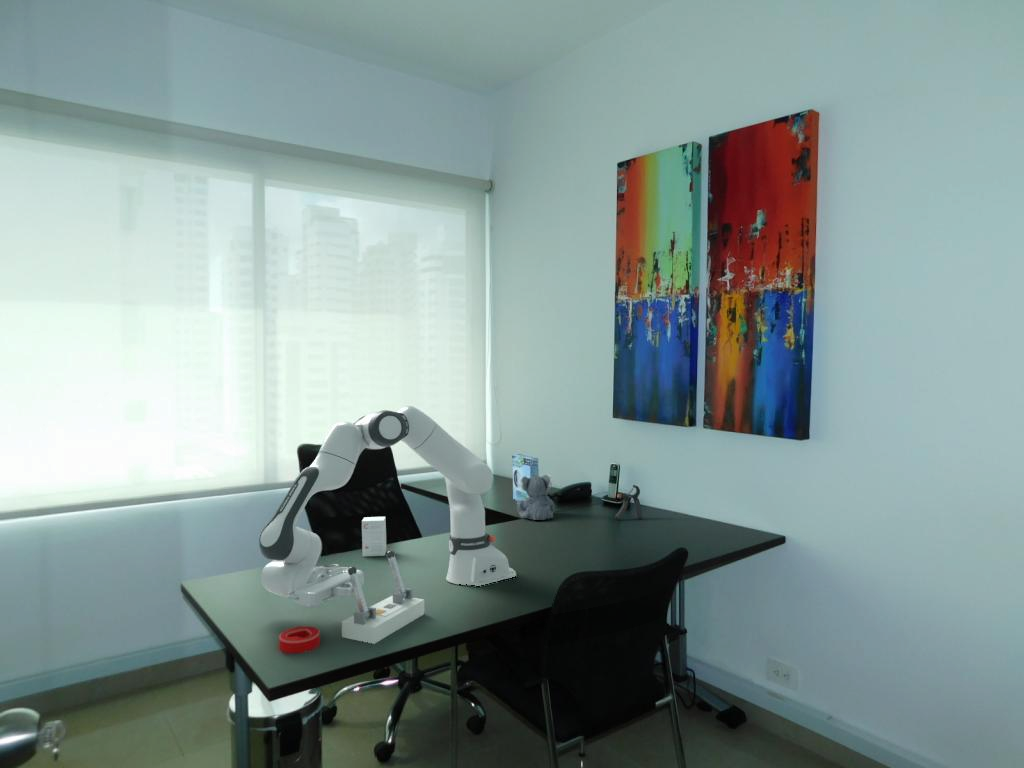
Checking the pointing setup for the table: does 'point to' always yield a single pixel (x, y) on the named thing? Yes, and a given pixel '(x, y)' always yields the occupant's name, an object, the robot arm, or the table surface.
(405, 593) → the lever
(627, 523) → the table surface
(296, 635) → the decorative ornament
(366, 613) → the lever
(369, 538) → the small box
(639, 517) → the hand grip strengthener
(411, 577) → the table surface
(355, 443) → the robot arm
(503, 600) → the table surface
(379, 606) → the switch unit
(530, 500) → the koala plush
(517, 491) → the light blue product box
